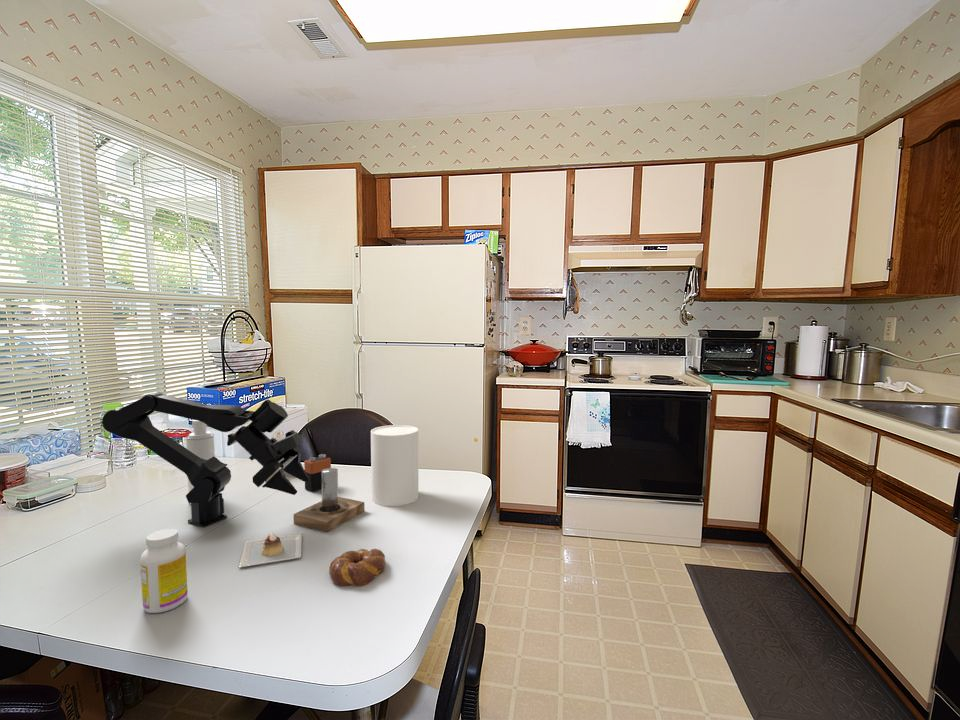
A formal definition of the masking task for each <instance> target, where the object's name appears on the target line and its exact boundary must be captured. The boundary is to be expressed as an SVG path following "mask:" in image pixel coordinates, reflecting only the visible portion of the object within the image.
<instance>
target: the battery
mask: <svg viewBox="0 0 960 720" xmlns="http://www.w3.org/2000/svg"><path fill="white" fill-rule="evenodd" d="M303 463H304V464H303V468H304V470H305V472H306V474H307V476H308V478H309V481H308V482H304V489H305V490H307V491H309V492H311V493H315V492H317V491H322V470H323V469H327V468H332V464H331V463H332V459H331V458H330V457H328V456H327V454H323V453H321V454H319V455H318V457H313V456H312V457H311V456H310V457H309V459H305V460H304V461H303Z"/></svg>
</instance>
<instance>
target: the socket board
mask: <svg viewBox="0 0 960 720" xmlns="http://www.w3.org/2000/svg"><path fill="white" fill-rule="evenodd" d="M365 508H366V507H365V501H361V500H355V499H351V498H346V497H341V496H338V510H337V511H333V512H322V500H320V501H319V502H316V503H314V504H312V505H310V506H308V507H306V508H304V509H302V510H299V511H297V512H295V513H293V514H292V515H293V524H294V525H298V526H302V527H306V528H309V529H313V530H317V531H321V532H324V533H328V532H330V531H332V530H333V529H335V528H336V527H338V526H340V525H343V524H344V523H346V522H348V521H350V520H351V519H353V518H355V517H357V516H358V515H361V514H362V513H363V512H365V511H366V510H365Z"/></svg>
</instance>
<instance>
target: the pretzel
mask: <svg viewBox="0 0 960 720" xmlns="http://www.w3.org/2000/svg"><path fill="white" fill-rule="evenodd" d="M385 558H386V556H385V553H383V550H380V549H378V548H373V549H370V550H368V549H365V548H361V549H358V550H349V551H345V552H343V553H342V554H341V555H340V556H337V557H335V558H334V559H333V560H332V561H331V562H330V565H329V568H328V569H329V570H328V572H329V576H330V579H331V581H332V582H333V583H335V584H337V585H339V586H343V587H344V586H352V585H354V586H358V587H361V586H364V585H368V584H369V583H370V582H371V583H372V581H373V580H374V579H375V577H378V575H379V574H380V573H383V571H384V570H385V568H386V560H385Z"/></svg>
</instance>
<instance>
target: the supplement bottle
mask: <svg viewBox="0 0 960 720" xmlns="http://www.w3.org/2000/svg"><path fill="white" fill-rule="evenodd" d="M178 539H179V530H178V529H175V528H164V529H160V530H156V531H154V532H151V533H149V534H148V535H147V536H146V538H145V546H147V549H145V550H144V551H143V552H142V553H141V556H140V559H139V561H140V563H139V564H140V565H139V566H140V580H141V595H142V596H141V598H142V600H141V601H142V608H143V610H144V612H147V613H149V614H160V613H165V612H167V611H171V610H173V609H176V608H177V607H179V606H180V605H182V604H183V603H184V602H185V601H186V600H187V598H188V594H189V593H188V579H187V578H188V574H187V571H188V570H187V555H186V554H187V553H186V547H185V545H184V544H183V543H181V542H179V541H178Z"/></svg>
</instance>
